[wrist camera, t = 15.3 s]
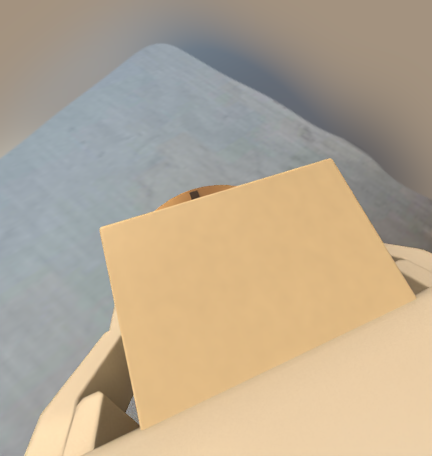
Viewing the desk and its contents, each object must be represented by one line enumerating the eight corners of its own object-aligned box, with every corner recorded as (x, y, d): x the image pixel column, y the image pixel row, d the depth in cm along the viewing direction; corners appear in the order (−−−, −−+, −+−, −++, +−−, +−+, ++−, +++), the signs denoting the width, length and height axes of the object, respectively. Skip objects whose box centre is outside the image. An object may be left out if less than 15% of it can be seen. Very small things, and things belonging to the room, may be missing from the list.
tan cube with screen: (156, 251, 10) (93, 206, 4) (260, 216, 11) (323, 141, 5) (185, 355, 9) (150, 488, 3) (300, 305, 10) (441, 335, 4)
